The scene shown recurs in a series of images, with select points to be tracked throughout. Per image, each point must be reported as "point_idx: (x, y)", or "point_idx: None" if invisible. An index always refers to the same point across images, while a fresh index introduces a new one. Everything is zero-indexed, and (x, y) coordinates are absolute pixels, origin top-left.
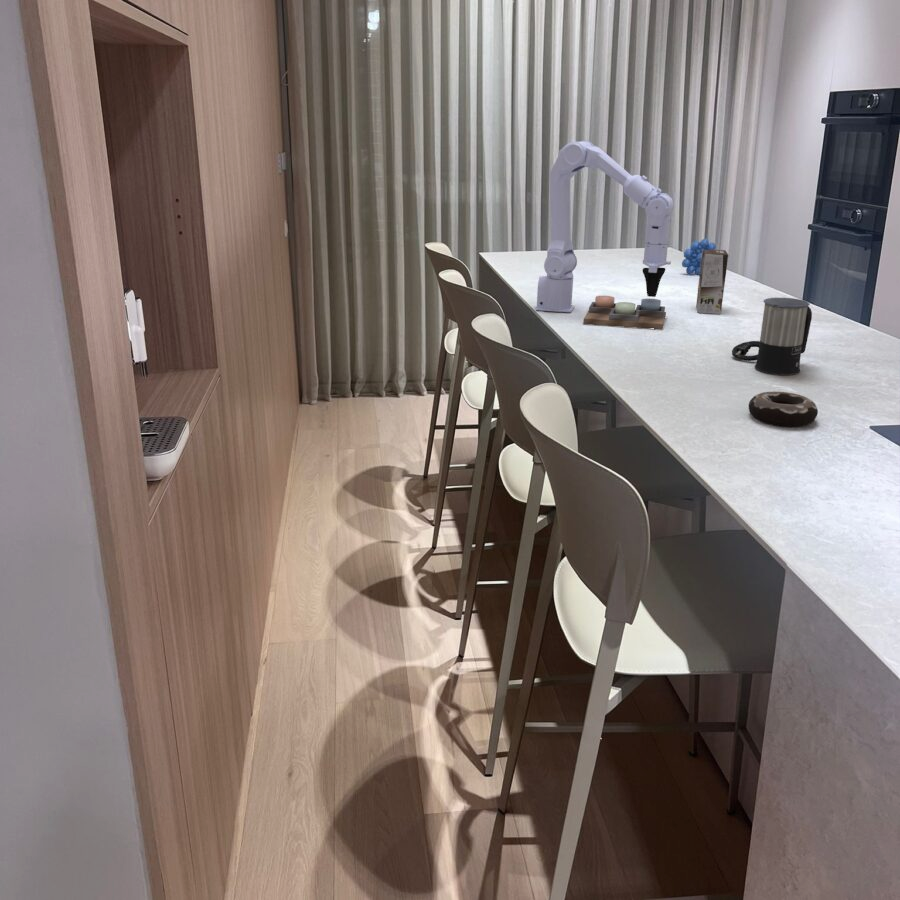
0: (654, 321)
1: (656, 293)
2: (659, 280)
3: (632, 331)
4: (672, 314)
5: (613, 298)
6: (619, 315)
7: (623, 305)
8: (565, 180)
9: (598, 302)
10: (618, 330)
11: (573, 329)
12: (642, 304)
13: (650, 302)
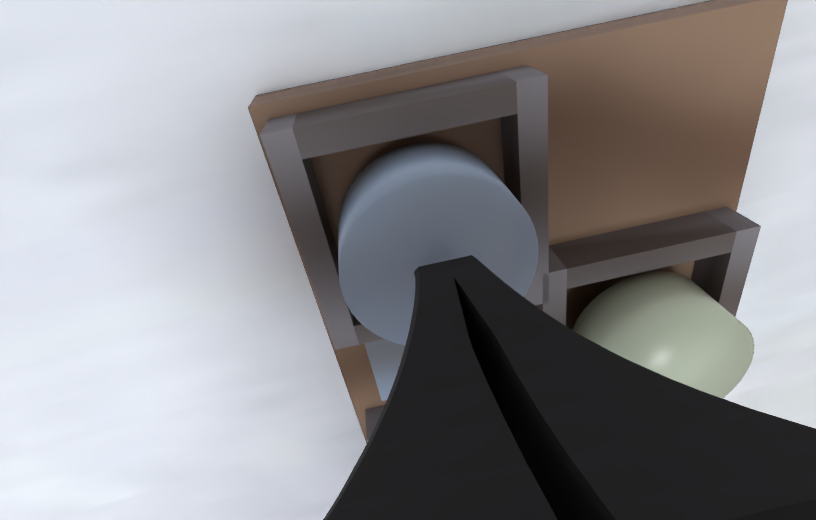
0: (693, 97)
1: (487, 268)
2: (642, 372)
3: (800, 184)
4: (67, 68)
5: None
6: None
7: (730, 371)
8: None
9: None
10: (776, 258)
11: (767, 412)
12: None
13: (538, 248)
